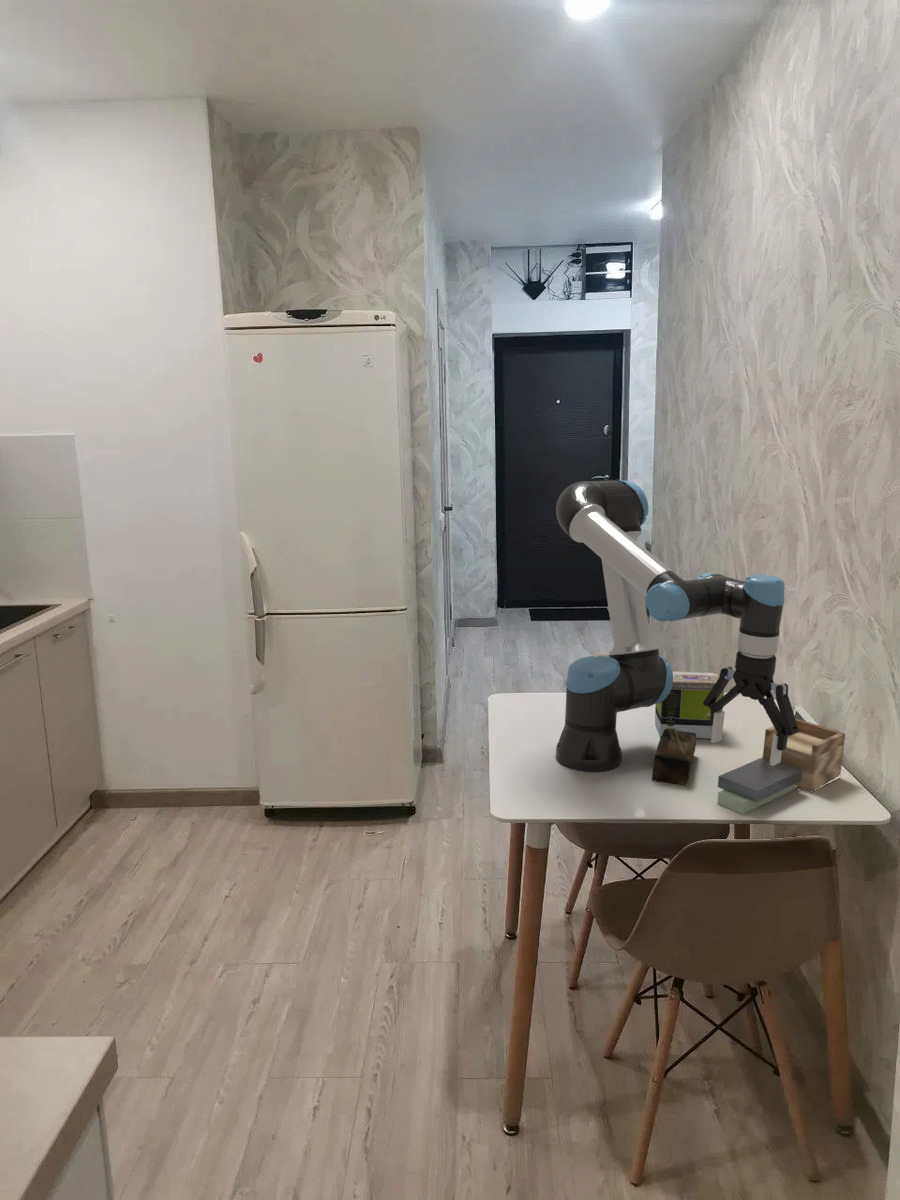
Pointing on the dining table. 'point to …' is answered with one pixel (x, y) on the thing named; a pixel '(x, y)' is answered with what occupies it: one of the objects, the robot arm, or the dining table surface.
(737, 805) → the block
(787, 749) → the oak box
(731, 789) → the cover plate
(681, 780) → the beverage carton
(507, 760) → the dining table surface
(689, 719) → the tea box
